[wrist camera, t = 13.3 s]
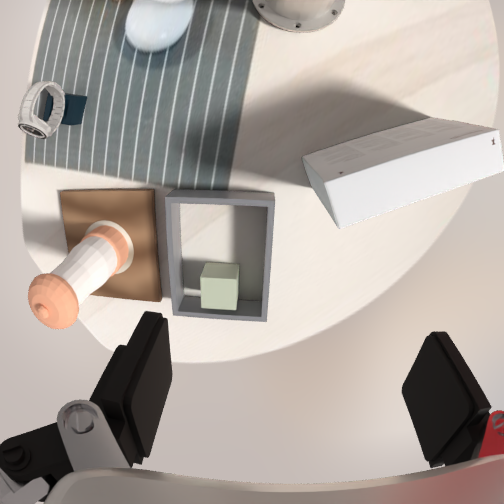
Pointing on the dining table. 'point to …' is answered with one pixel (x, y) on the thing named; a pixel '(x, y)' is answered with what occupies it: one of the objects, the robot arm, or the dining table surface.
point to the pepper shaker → (77, 277)
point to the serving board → (130, 226)
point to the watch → (50, 110)
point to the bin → (181, 303)
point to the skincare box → (401, 167)
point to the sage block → (219, 286)
